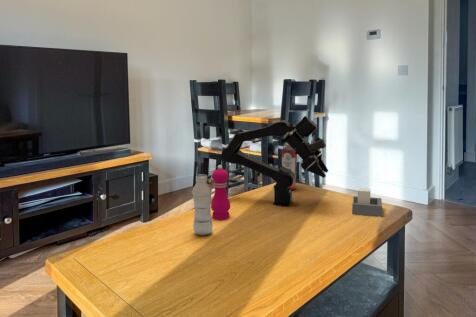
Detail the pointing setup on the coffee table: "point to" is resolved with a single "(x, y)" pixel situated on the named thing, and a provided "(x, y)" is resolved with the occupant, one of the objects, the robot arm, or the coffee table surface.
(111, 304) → the coffee table surface
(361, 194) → the white rectangular block
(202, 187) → the plastic bottle
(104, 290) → the coffee table surface
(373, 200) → the frame
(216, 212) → the pepper mill
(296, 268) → the coffee table surface
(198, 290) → the coffee table surface
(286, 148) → the liquor
